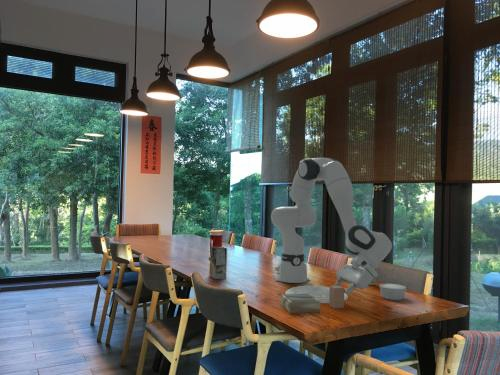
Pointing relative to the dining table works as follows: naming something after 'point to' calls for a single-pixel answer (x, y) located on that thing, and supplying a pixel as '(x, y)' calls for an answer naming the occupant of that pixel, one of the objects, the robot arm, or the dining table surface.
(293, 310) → the base block
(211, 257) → the coffee box
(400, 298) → the ramekin
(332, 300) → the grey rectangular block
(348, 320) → the dining table surface
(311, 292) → the ceiling medallion
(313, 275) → the dining table surface
